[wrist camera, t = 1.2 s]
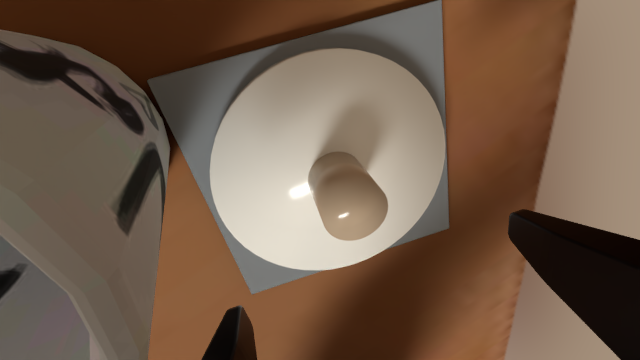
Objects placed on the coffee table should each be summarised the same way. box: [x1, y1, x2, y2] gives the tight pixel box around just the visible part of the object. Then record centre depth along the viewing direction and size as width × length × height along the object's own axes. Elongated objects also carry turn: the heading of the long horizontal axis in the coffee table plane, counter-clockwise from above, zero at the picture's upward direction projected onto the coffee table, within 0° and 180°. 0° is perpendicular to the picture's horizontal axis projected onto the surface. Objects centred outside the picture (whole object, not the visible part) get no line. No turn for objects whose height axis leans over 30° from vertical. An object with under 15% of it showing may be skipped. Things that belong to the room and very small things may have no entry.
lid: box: [210, 47, 445, 270], centre depth 14 cm, size 11×11×4 cm
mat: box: [147, 0, 449, 294], centre depth 15 cm, size 12×12×1 cm
